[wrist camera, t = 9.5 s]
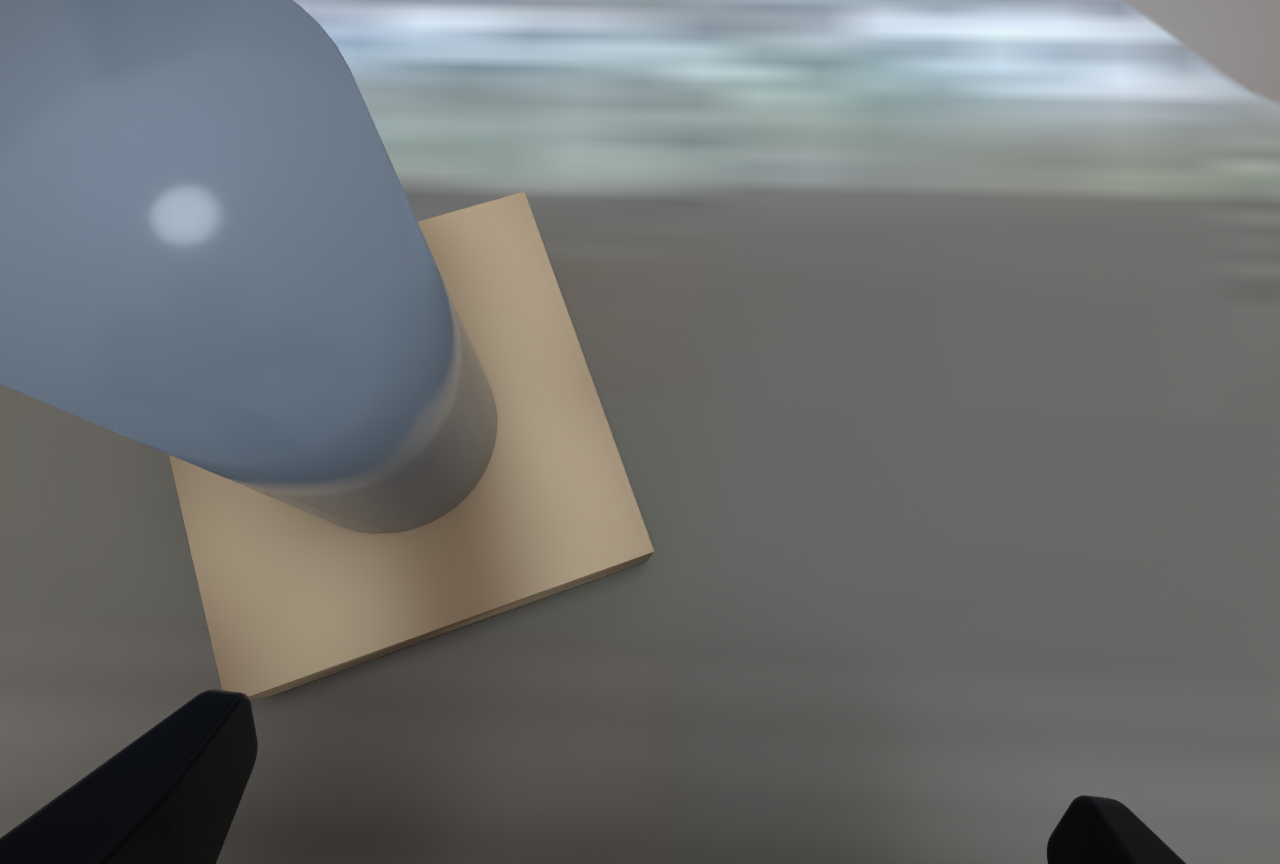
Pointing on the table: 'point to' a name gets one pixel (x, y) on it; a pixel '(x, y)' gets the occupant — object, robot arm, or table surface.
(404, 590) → the oak base block
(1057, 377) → the table surface
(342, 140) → the canister
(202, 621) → the table surface
